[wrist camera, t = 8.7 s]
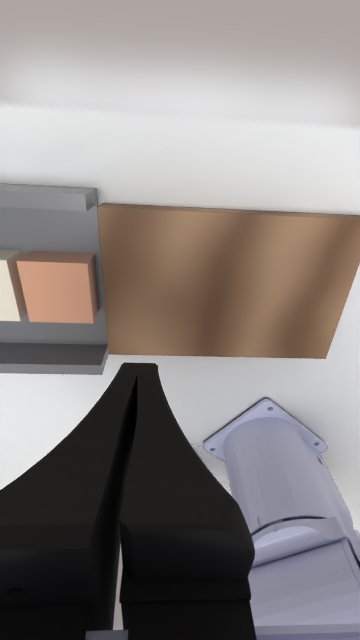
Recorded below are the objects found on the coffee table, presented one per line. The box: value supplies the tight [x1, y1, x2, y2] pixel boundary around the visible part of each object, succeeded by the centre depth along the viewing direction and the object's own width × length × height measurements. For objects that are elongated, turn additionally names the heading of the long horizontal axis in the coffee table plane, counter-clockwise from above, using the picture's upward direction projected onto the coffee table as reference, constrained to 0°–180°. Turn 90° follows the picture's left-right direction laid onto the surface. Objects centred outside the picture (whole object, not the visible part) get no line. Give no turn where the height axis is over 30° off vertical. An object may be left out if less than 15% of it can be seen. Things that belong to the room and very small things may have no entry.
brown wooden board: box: [98, 203, 360, 359], centre depth 20 cm, size 16×10×2 cm, turn 87°
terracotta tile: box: [16, 251, 99, 323], centre depth 19 cm, size 4×4×2 cm
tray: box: [0, 184, 109, 375], centre depth 19 cm, size 12×12×3 cm
